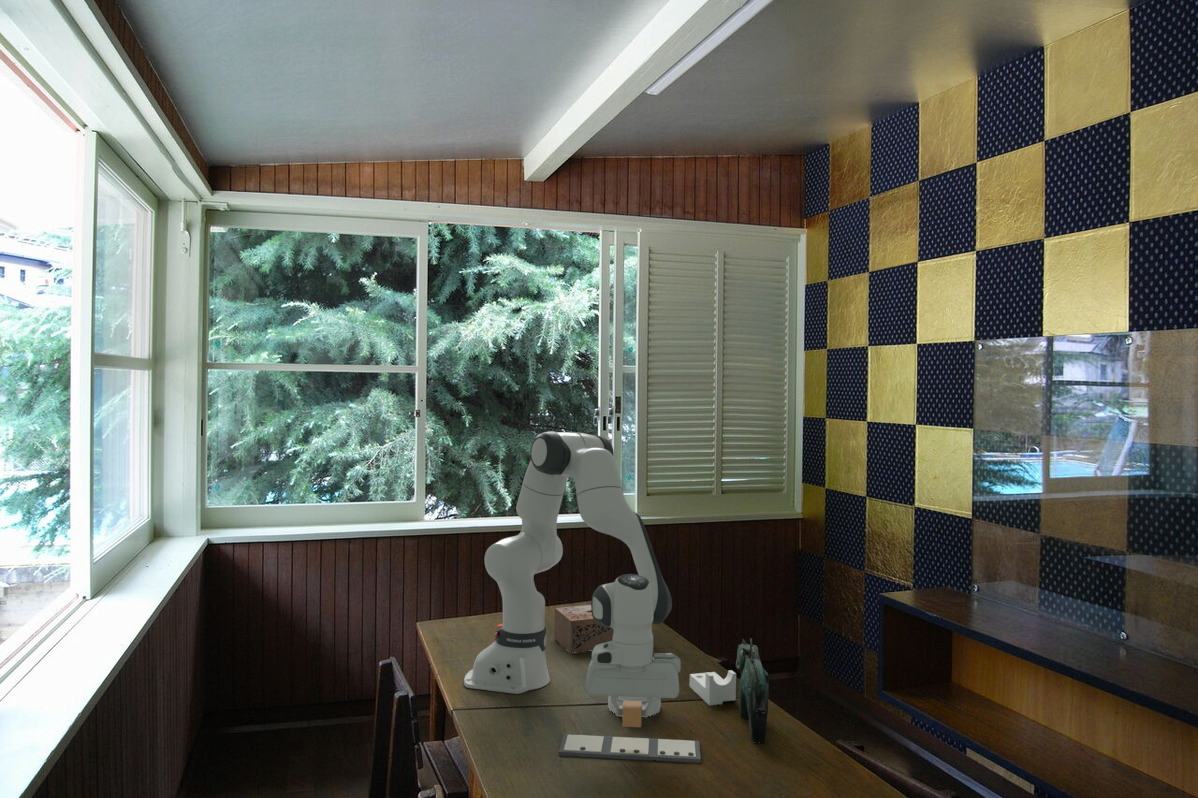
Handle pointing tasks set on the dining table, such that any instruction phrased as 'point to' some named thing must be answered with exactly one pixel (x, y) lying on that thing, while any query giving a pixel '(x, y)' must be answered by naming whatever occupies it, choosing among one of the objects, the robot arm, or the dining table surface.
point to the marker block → (631, 714)
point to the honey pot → (653, 708)
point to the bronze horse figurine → (753, 690)
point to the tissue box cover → (579, 629)
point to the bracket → (714, 687)
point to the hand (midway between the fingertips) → (632, 715)
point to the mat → (630, 748)
